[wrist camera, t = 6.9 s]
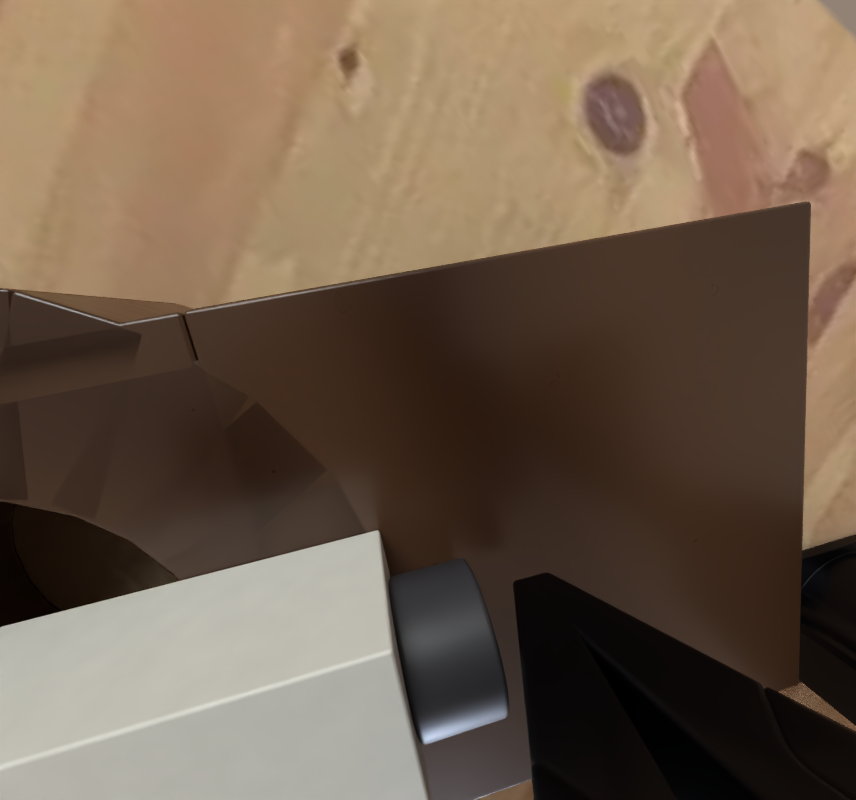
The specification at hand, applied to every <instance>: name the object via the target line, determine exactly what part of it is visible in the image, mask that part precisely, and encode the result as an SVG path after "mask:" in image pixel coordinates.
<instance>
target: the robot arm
mask: <svg viewBox="0 0 856 800" xmlns="http://www.w3.org/2000/svg"><path fill="white" fill-rule="evenodd" d="M513 591H514V601H515V611H516V621H517V631H518V641H519V651H520V661H521V671H522V681H523V691H524V701H525V710H526V720H527V730H528V740H529V750H530V760H531V773H532V783H533V793H534V800H856V731H854V730H852V729H850V728H848V727H846V726H844V725H842V724H840V723H838V722H836V721H834V720H832V719H830V718H828V717H826V716H824V715H822V714H820V713H818V712H816V711H814V710H812V709H810V708H808V707H806V706H804V705H802V704H800V703H798V702H796V701H794V700H793V699H791V698H789V697H787V696H785V695H783V694H781V693H779V692H777V691H775V690H773V689H772V688H769V687H766V688H765V689H764V688H763V686H762V684H761V683H759V682H758V681H756V680H754V679H752V678H750V677H748V676H746V675H744V674H742V673H740V672H739V671H737V670H735V669H733V668H731V667H729V666H727V665H725V664H723V663H721V662H719V661H717V660H716V659H714V658H712V657H710V656H708V655H706V654H704V653H702V652H700V651H698V650H696V649H694V648H693V647H691V646H689V645H687V644H685V643H683V642H681V641H679V640H677V639H675V638H673V637H672V636H670V635H668V634H666V633H664V632H662V631H660V630H658V629H656V628H654V627H652V626H650V625H649V624H647V623H645V622H643V621H641V620H639V619H637V618H635V617H633V616H631V615H629V614H627V613H626V612H624V611H622V610H620V609H618V608H616V607H614V606H612V605H610V604H608V603H606V602H605V601H603V600H601V599H599V598H597V597H595V596H593V595H591V594H589V593H587V592H585V591H583V590H582V589H580V588H578V587H576V586H574V585H572V584H570V583H568V582H566V581H564V580H562V579H560V578H559V577H557V576H555V575H553V574H551V573H548V572H545V573H541V574H537V575H534V576H530V577H526V578H523V579H519V580H516V581H514V582H513ZM801 682H802V683H804V684H805V685H806V686H807V687H809V688H810V689H811V690H812V691H814V692H815V693H816V694H817V695H818V696H820V697H821V698H822V699H823V700H825V701H826V702H827V703H828V704H830V705H831V706H832V707H833V708H834V709H836V710H837V711H838V712H839V713H841V714H842V715H843V716H844V717H846V718H847V719H848V720H849V721H850V722H852V723H853V724H854V725H855V726H856V535H853V536H849V537H846V538H843V539H840V540H836V541H833V542H830V543H827V544H823V545H820V546H817V547H814V548H810V549H807V550H804V551H802V576H801V616H800V655H799V683H801Z"/></svg>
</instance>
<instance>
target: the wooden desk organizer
mask: <svg viewBox="0 0 856 800" xmlns="http://www.w3.org/2000/svg"><path fill="white" fill-rule="evenodd" d="M810 219H811V204H810V202H801V203H795V204H789V205H784V206H778V207H772V208H766V209H761V210H755V211H749V212H744V213H738V214H732V215H727V216H721V217H715V218H709V219H704V220H698V221H692V222H687V223H681V224H675V225H670V226H664V227H658V228H652V229H647V230H641V231H635V232H630V233H624V234H618V235H613V236H607V237H601V238H595V239H590V240H584V241H578V242H573V243H567V244H561V245H555V246H550V247H544V248H538V249H533V250H527V251H521V252H516V253H510V254H504V255H498V256H493V257H487V258H481V259H476V260H470V261H464V262H459V263H453V264H447V265H441V266H436V267H430V268H424V269H419V270H413V271H407V272H402V273H396V274H390V275H384V276H379V277H373V278H367V279H362V280H356V281H350V282H345V283H339V284H333V285H327V286H322V287H316V288H310V289H305V290H299V291H293V292H287V293H282V294H276V295H270V296H265V297H259V298H253V299H248V300H242V301H236V302H230V303H225V304H219V305H213V306H208V307H202V308H196V309H192V308H189V307H186V306H183V305H179V304H174V303H163V302H151V301H140V300H129V299H117V298H106V297H95V296H84V295H72V294H61V293H50V292H38V291H27V290H16V289H4V288H0V627H2V626H6V625H10V624H14V623H18V622H22V621H26V620H29V619H33V618H37V617H41V616H45V615H49V614H53V613H57V612H60V611H59V610H57V609H56V608H54V607H53V606H51V605H50V604H49V603H48V602H47V601H46V600H45V599H44V598H43V597H42V595H41V594H40V593H39V592H38V591H37V590H36V589H35V587H34V586H33V585H32V584H31V583H30V582H29V581H28V579H27V577H26V575H25V573H24V570H23V568H22V566H21V564H20V562H19V560H18V557H17V555H16V553H15V551H14V543H13V535H12V526H11V517H12V512H13V508H14V504H16V505H21V506H26V507H31V508H35V509H40V510H45V511H50V512H55V513H60V514H65V515H69V516H74V517H76V518H79V519H81V520H83V521H85V522H88V523H90V524H92V525H94V526H97V527H99V528H101V529H103V530H106V531H108V532H110V533H112V534H115V535H117V536H119V537H121V538H124V539H126V540H128V541H130V542H131V543H133V544H134V545H135V546H137V547H138V548H139V549H140V550H142V551H143V552H144V553H146V554H147V555H148V556H150V557H151V558H152V559H153V560H155V561H156V562H157V563H159V564H160V565H161V566H163V567H164V568H165V569H166V570H168V571H169V572H170V573H172V574H173V575H174V576H175V577H176V579H177V580H178V581H181V580H185V579H189V578H193V577H197V576H201V575H205V574H209V573H213V572H217V571H220V570H224V569H228V568H232V567H236V566H240V565H244V564H248V563H252V562H256V561H259V560H263V559H267V558H271V557H275V556H279V555H283V554H287V553H291V552H295V551H298V550H302V549H306V548H310V547H314V546H318V545H322V544H326V543H330V542H333V541H337V540H341V539H345V538H349V537H353V536H357V535H361V534H365V533H369V532H372V531H376V530H378V531H379V532H380V534H381V539H382V543H383V547H384V552H385V556H386V560H387V565H388V569H389V573H390V578H391V577H392V576H395V575H399V574H403V573H406V572H410V571H414V570H417V569H421V568H424V567H428V566H432V565H435V564H439V563H443V562H446V561H450V560H454V559H457V558H464V559H465V560H466V561H467V562H468V564H469V565H470V567H471V569H472V571H473V573H474V575H475V577H476V580H477V582H478V585H479V587H480V590H481V592H482V595H483V598H484V601H485V604H486V607H487V610H488V613H489V616H490V619H491V623H492V626H493V629H494V633H495V636H496V640H497V643H498V647H499V651H500V655H501V659H502V663H503V667H504V672H505V677H506V682H507V687H508V694H509V714H508V716H507V717H506V718H505V719H502V720H499V721H496V722H493V723H490V724H487V725H484V726H481V727H478V728H475V729H472V730H469V731H466V732H463V733H460V734H457V735H454V736H451V737H448V738H445V739H442V740H439V741H436V742H433V743H430V744H427V745H425V744H423V750H424V756H425V762H426V769H427V775H428V781H429V787H430V794H431V800H476V799H479V798H481V797H484V796H487V795H490V794H493V793H495V792H498V791H501V790H504V789H507V788H509V787H512V786H515V785H518V784H521V783H523V782H526V781H529V780H532V773H531V760H530V750H529V740H528V730H527V720H526V710H525V701H524V691H523V681H522V671H521V661H520V651H519V641H518V631H517V621H516V611H515V601H514V591H513V582H514V581H516V580H519V579H523V578H526V577H530V576H534V575H537V574H541V573H545V572H548V573H551V574H553V575H555V576H557V577H559V578H560V579H562V580H564V581H566V582H568V583H570V584H572V585H574V586H576V587H578V588H580V589H582V590H583V591H585V592H587V593H589V594H591V595H593V596H595V597H597V598H599V599H601V600H603V601H605V602H606V603H608V604H610V605H612V606H614V607H616V608H618V609H620V610H622V611H624V612H626V613H627V614H629V615H631V616H633V617H635V618H637V619H639V620H641V621H643V622H645V623H647V624H649V625H650V626H652V627H654V628H656V629H658V630H660V631H662V632H664V633H666V634H668V635H670V636H672V637H673V638H675V639H677V640H679V641H681V642H683V643H685V644H687V645H689V646H691V647H693V648H694V649H696V650H698V651H700V652H702V653H704V654H706V655H708V656H710V657H712V658H714V659H716V660H717V661H719V662H721V663H723V664H725V665H727V666H729V667H731V668H733V669H735V670H737V671H739V672H740V673H742V674H744V675H746V676H748V677H750V678H752V679H754V680H756V681H758V682H759V683H761V684H762V686H763V688H764V689H765V688H766V687H769V688H772V689H773V690H775V691H777V692H779V691H782V690H784V689H787V688H790V687H793V686H796V685H798V683H799V655H800V616H801V576H802V536H803V497H804V457H805V417H806V378H807V338H808V298H809V259H810Z"/></svg>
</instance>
